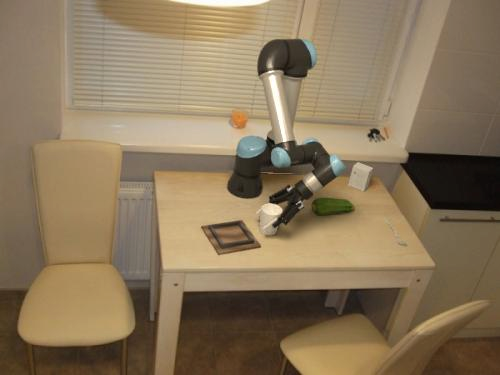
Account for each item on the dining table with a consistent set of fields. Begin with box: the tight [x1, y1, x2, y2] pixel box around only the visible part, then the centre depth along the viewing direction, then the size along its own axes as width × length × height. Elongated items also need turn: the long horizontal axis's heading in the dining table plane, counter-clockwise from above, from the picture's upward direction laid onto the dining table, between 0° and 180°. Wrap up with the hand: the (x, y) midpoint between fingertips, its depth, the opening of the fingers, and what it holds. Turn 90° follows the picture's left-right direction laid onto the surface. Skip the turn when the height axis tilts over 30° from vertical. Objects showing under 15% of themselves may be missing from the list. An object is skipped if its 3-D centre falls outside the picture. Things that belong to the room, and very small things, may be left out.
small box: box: [347, 161, 374, 193], centre depth 248 cm, size 8×6×10 cm
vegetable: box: [311, 197, 356, 216], centre depth 226 cm, size 7×7×20 cm
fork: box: [383, 216, 408, 246], centre depth 223 cm, size 3×24×2 cm, turn 9°
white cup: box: [258, 203, 283, 237], centre depth 207 cm, size 8×8×10 cm
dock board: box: [200, 219, 262, 256], centre depth 201 cm, size 17×17×2 cm
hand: (261, 222), depth 206 cm, fingers open, 9 cm apart
